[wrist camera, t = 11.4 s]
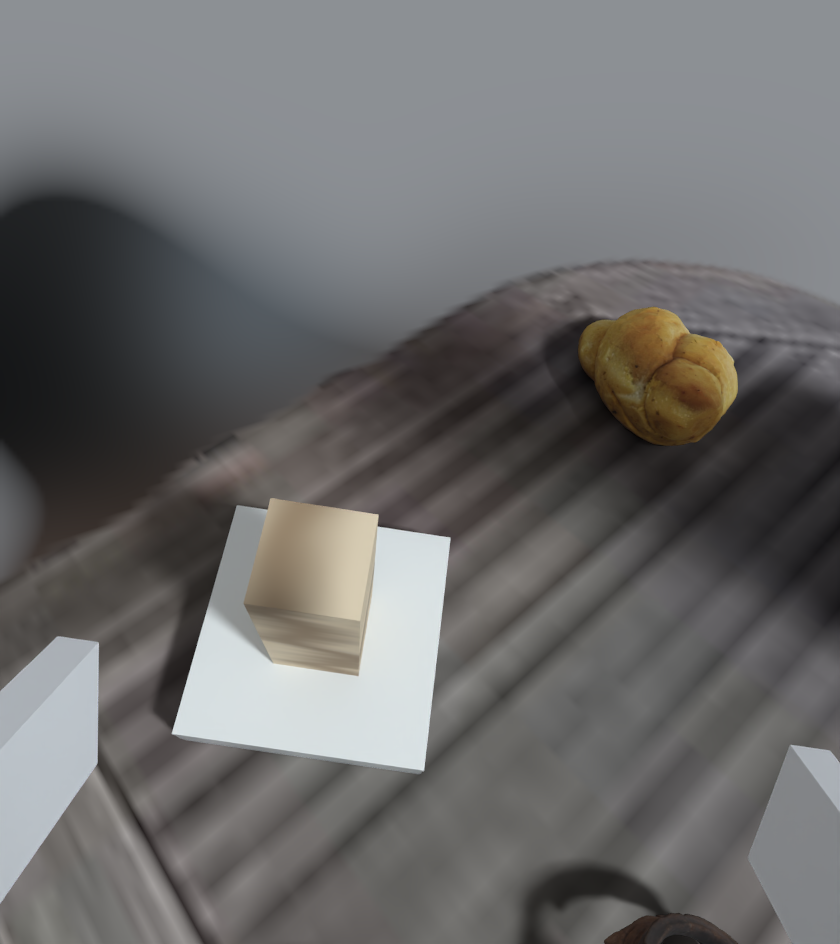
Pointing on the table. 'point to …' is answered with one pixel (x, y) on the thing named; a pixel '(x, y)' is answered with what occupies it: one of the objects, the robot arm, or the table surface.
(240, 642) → the stone tile base
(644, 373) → the bread roll
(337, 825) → the table surface
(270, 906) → the table surface
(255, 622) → the beech block
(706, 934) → the brown arched figurine
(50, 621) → the table surface
